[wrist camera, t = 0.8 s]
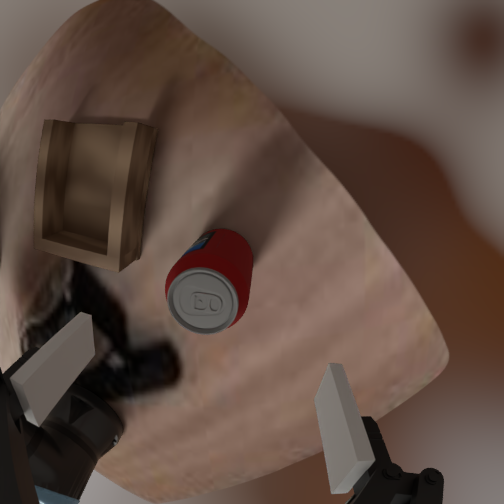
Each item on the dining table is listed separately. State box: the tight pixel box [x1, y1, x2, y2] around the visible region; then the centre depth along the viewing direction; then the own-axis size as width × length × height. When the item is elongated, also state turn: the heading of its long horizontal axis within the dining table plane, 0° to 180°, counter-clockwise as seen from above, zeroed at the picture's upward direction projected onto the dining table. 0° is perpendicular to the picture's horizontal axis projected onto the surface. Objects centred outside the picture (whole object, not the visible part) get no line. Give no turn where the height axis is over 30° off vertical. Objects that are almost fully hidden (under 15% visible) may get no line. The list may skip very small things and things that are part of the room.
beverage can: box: [165, 229, 253, 335], centre depth 27 cm, size 7×7×12 cm
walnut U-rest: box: [34, 120, 158, 273], centre depth 29 cm, size 15×13×5 cm
